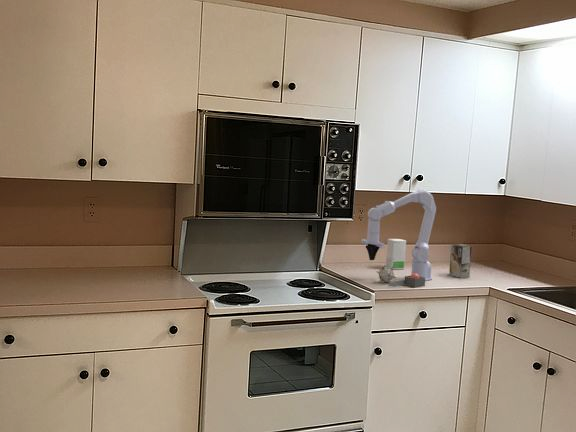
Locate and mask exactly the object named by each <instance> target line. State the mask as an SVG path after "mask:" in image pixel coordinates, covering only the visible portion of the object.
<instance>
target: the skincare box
mask: <svg viewBox="0 0 576 432" xmlns="http://www.w3.org/2000/svg"><path fill="white" fill-rule="evenodd" d="M406 250H407V240H405V239H402V238H387V246H386V261H385V267H388V268H392V267H393V269H392V270H405V266H406V265H405V264H406V263H405V262H406Z"/></svg>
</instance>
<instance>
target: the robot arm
mask: <svg viewBox="0 0 576 432" xmlns="http://www.w3.org/2000/svg"><path fill="white" fill-rule="evenodd" d="M409 203H419V204H420V205H421V206H422V208H423V209H424V213H423V218H422V223H421V225H420V230H419V234H418V238H417V241H416V243H415V245H414V247H413V249H412V250H411V255H412V257H413V258H412V260H411V261H412V262H411V274H410V276H411V275H412V274H413V273H417V274H418V275H419V276H421V277H424V278H425V281H431V280H432V277H431V275H432V264H431V262H429V261H428V259H429V257H430V255H429V249H430V246H429V241H430V237H431V233H432V229H433V224H434V220H435V218H436V217H435V216H436V212H437V205H436V202H435V200H434V196H433V195H432V193H430V192H429V191H428V190H427V191H426V190H423V189H417V190H416V191H412V192H409V194H406V195H405V196H402V197H400V198H398V199H396V200H394V201H390V200H385V201H384V203H382V204H379V205H375V207H372V208H369V210H368V211H367V217H368V222H367V235H366V238H365V239H364V238H362V239H360V240H361V244H365V248H366V250H367V254H368V260H369V261H375V259H376V256H377V253H378V251H379V250H380V248H381V249H382V248H383V249H384V248H385V247H386V243H384V242H382V241H380V228H381V227H380V226H381V223H380V222H381V219H382V218H383V217H385V216H388V215H390V214H392V213H395V211H396V209H397V208H399V207H402V206H404V205H407V204H409Z"/></svg>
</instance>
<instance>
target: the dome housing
mask: <svg viewBox="0 0 576 432" xmlns="http://www.w3.org/2000/svg"><path fill="white" fill-rule="evenodd" d="M410 276H411V275H405V276H404V280H405V281H404V284H405V285H406V286H408V287H411V286H412V287H411V288H421V287H426V280H425V278H424V277H421V276H420V278H418V279H414V278H411V277H410ZM405 285H404V286H405Z"/></svg>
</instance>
